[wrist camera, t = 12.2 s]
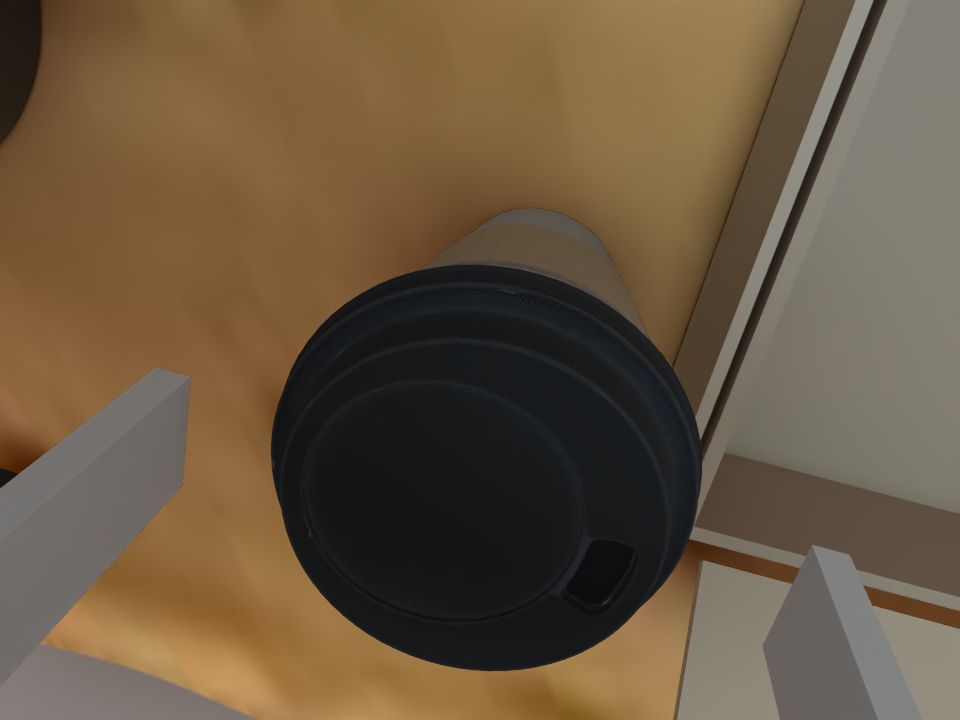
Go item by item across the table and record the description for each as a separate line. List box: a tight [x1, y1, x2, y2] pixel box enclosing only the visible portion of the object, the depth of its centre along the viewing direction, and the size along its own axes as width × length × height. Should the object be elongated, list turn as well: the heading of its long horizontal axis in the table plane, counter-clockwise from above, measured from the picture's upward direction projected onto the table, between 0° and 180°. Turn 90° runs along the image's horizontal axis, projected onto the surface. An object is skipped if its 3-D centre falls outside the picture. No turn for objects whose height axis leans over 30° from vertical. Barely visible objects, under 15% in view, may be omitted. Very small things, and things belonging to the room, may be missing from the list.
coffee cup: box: [271, 208, 702, 671], centre depth 23 cm, size 9×9×15 cm
